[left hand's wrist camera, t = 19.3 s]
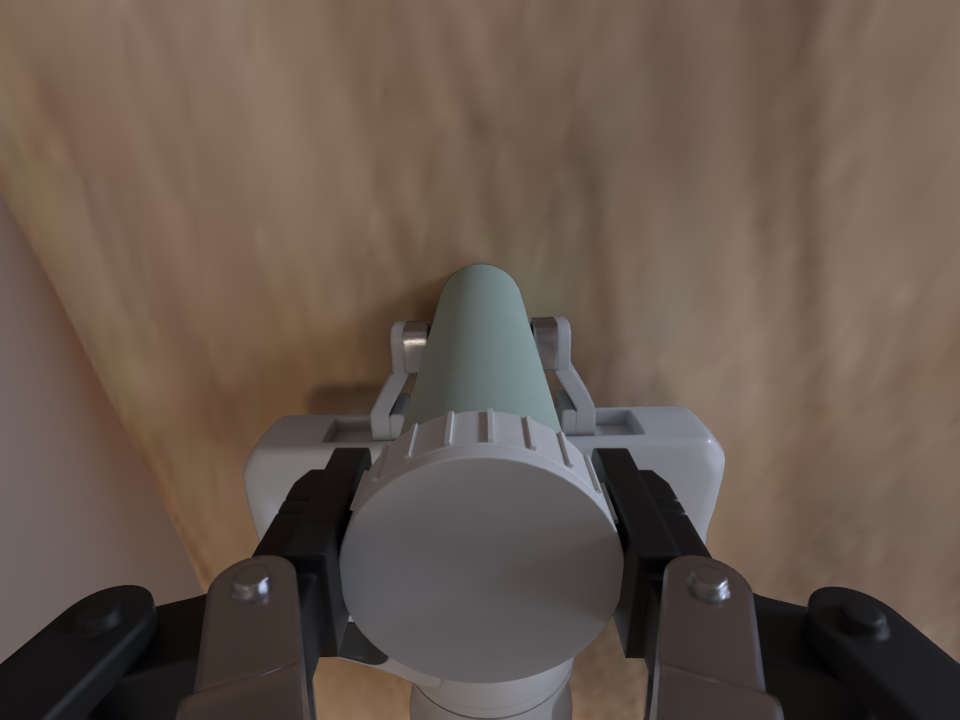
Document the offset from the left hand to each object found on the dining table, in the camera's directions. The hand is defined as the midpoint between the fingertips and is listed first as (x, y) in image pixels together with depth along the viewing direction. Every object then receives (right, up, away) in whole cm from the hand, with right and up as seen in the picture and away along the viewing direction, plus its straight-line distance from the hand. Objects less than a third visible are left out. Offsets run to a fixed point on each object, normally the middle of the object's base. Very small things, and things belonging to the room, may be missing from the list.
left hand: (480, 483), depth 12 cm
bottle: (0, +6, +15) cm, 16 cm away
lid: (0, -1, -2) cm, 3 cm away
